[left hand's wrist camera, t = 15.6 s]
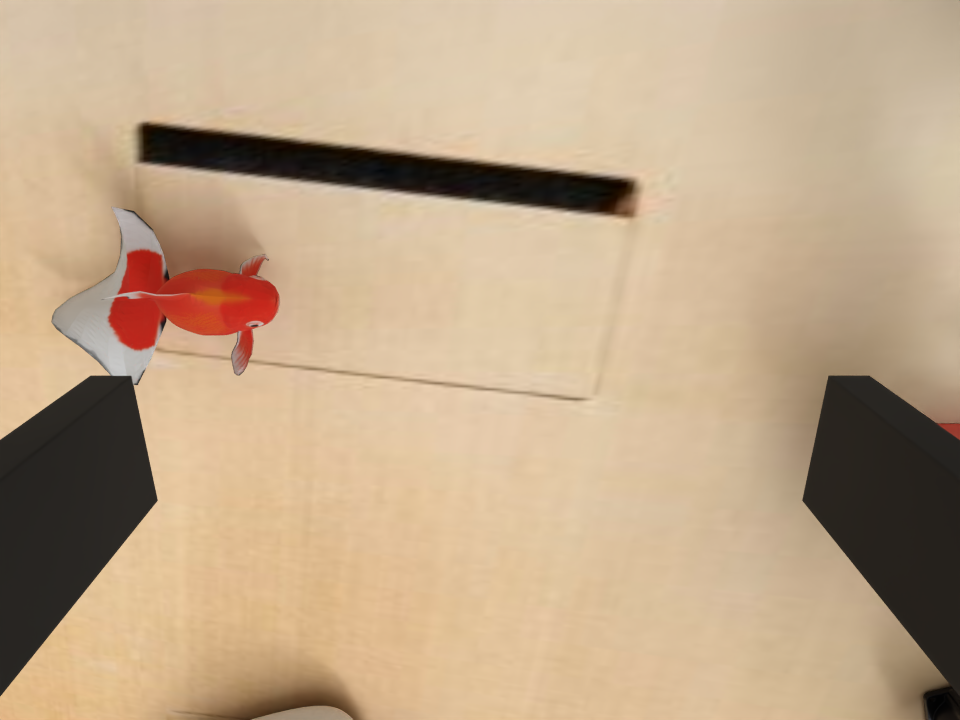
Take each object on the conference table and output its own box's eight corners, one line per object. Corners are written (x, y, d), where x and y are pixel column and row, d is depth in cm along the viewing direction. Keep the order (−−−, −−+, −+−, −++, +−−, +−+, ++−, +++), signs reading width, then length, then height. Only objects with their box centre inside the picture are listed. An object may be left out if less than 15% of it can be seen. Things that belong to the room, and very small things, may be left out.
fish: (283, 431, 44) (167, 435, 35) (118, 357, 49) (-22, 344, 40) (334, 277, 44) (231, 239, 34) (162, 220, 49) (31, 173, 39)
